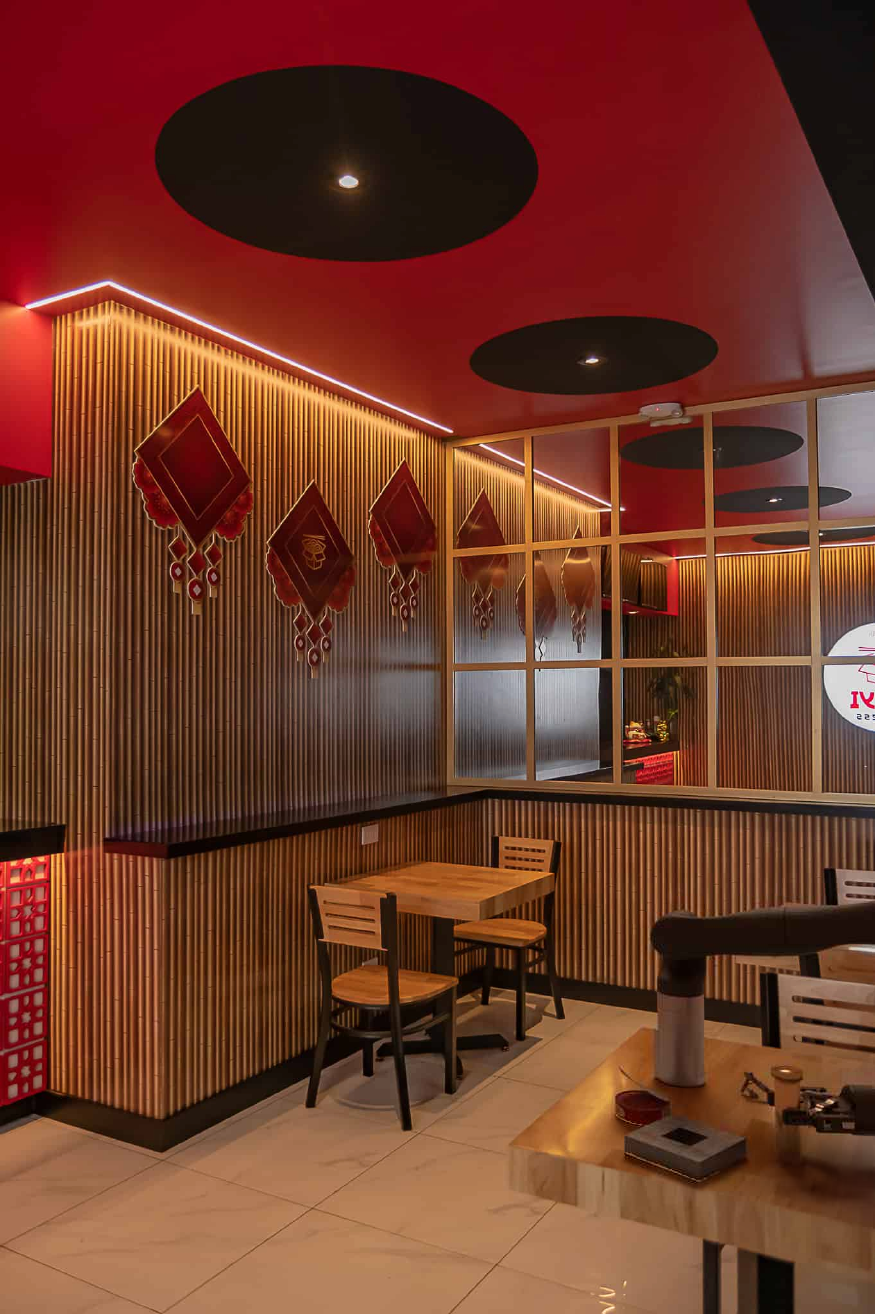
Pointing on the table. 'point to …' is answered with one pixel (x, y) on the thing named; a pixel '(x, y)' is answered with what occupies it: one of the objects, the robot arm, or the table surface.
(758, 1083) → the brown turned rod
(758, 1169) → the table surface
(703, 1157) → the jig
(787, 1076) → the bushing
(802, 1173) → the table surface
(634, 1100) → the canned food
